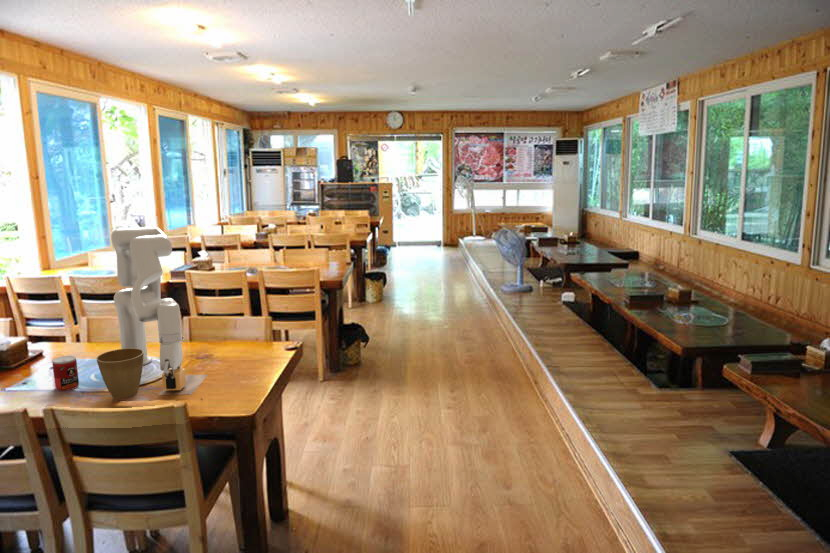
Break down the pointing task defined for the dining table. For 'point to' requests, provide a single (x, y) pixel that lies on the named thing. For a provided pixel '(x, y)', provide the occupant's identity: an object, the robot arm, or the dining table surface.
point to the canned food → (65, 372)
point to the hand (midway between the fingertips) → (174, 384)
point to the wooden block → (179, 377)
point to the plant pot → (121, 371)
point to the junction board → (186, 386)
